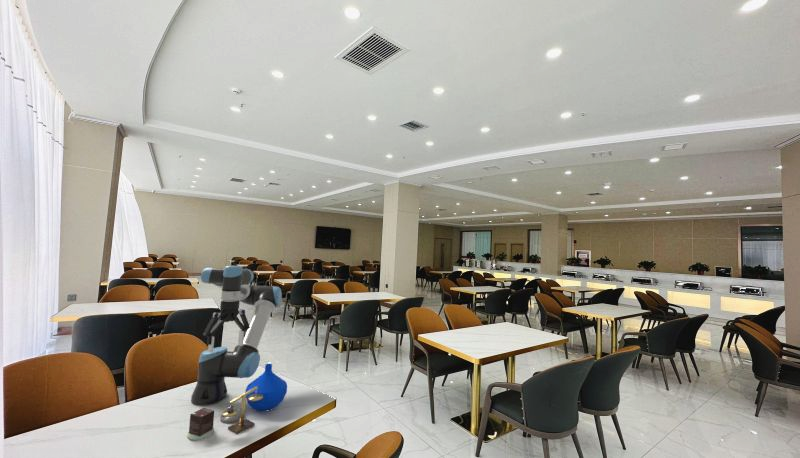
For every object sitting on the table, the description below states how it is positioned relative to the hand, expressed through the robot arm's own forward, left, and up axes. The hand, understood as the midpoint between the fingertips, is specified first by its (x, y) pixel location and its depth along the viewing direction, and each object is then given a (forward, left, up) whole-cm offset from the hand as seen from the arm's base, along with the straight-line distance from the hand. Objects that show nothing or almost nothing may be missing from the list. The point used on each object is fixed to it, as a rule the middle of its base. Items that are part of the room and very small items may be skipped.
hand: (226, 348), depth 143 cm
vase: (+8, +17, -29) cm, 34 cm away
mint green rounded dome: (+8, -12, -29) cm, 32 cm away
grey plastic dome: (+6, +2, -29) cm, 29 cm away
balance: (+16, 0, -29) cm, 33 cm away
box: (+8, -12, -28) cm, 31 cm away
